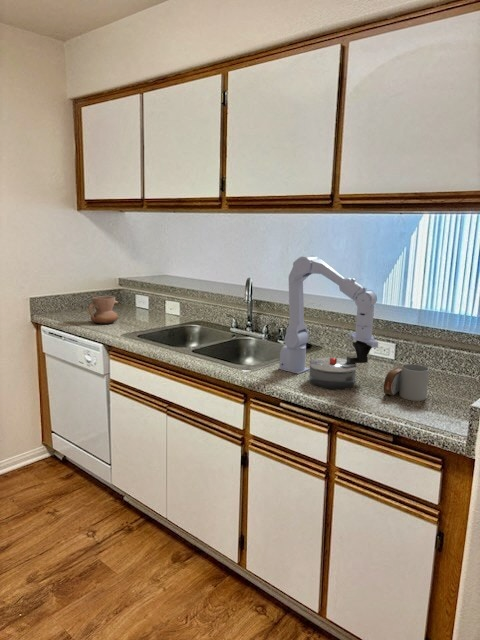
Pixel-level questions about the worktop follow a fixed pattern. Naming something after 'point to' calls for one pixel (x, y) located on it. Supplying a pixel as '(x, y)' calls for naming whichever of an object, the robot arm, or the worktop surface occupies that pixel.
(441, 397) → the worktop surface
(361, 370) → the worktop surface
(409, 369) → the cup
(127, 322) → the worktop surface
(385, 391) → the tin
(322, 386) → the cooker pot
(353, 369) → the lid
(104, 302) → the ceramic jug
